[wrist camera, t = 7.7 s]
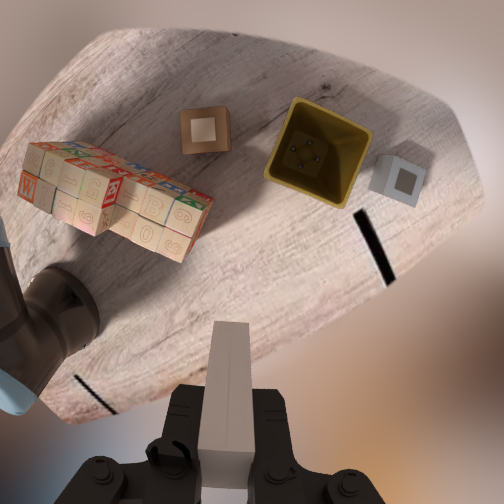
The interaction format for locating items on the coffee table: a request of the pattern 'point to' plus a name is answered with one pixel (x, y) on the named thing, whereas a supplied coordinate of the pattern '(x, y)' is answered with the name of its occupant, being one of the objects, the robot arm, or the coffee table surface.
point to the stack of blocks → (113, 196)
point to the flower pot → (318, 153)
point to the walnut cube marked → (205, 130)
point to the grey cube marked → (397, 179)
